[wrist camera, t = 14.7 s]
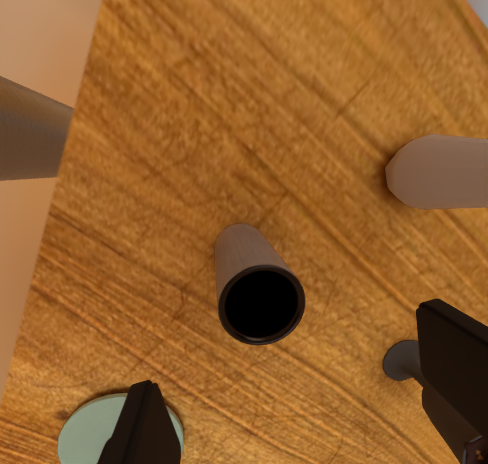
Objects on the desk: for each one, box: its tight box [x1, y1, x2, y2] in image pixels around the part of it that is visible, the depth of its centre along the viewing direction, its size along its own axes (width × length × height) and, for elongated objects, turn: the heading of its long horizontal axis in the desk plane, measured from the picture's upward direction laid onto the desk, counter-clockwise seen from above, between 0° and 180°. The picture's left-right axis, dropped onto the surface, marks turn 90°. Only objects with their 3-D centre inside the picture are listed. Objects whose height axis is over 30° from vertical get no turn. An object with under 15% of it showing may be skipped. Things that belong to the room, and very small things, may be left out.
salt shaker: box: [385, 134, 488, 209], centre depth 17 cm, size 6×6×13 cm
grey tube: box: [214, 223, 305, 345], centre depth 18 cm, size 4×4×10 cm
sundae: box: [383, 340, 488, 464], centre depth 21 cm, size 7×7×15 cm
